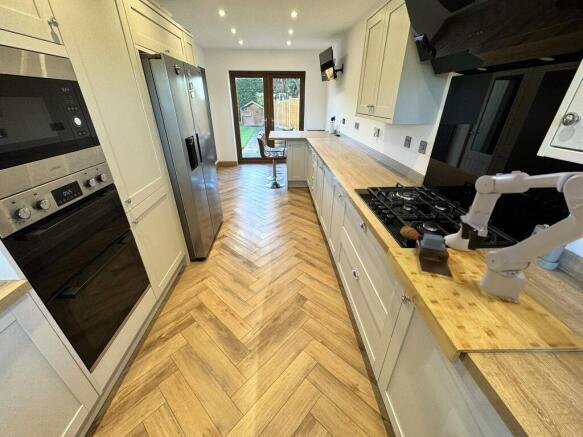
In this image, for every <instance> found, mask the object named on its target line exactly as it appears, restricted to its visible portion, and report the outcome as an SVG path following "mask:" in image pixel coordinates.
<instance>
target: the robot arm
mask: <svg viewBox="0 0 583 437" xmlns="http://www.w3.org/2000/svg"><path fill="white" fill-rule="evenodd" d="M474 186H475V190H476V194H475V197H474V199H473V202H472V205H471V206H472V207H471V206H470V207H471V210H470V212H469V211H468V212H469V213H468V212H467V213H466V214H465V216H466V217H465V218H466V219H460V224H461V225H462V234H461V238H462V239H467V240H468V239H469V242H468V249H469V250H471V251H476V250H477V249H478V247H479V246H480V245H481V244H482V243H483V242H485V241H486V240H488V239H490V235H489V234H488V232H489V231H488V223H489V220H490V217H491V216H492V213H493V211H494V208H495V206H496V203H497V201H498V199H499V198H500V197H501V196H502V194H518V193H519V194H520V193H525V192H528V190H529V189H530V188H556V190H557V192H559V193H563V196H564V199H565V202H566V205H567V208H568V212H569V214H570V216H568V217H566V218H564V219H562V220H560V221H558V222H556V223H554V224H552V225H551V226H548V227H546V228H544V229H543V230H541V231H539V232H537V233H535V234H533V235H532V236H529V237H528V238H525V239H523V240H522V241H520V242H518V243H516V244H514V245H511V246H507V247H503V248H500V249H498V250H490V251H488V252H487V253H486V254H485V255H484V263H485V266H486V269H485V271H484V272H483V275H482V278H481V279H480V282H479V287H480V288H481V289H482V290H483V291H484V292H486V293H488V294H489V295H492V296H495V297H500V298H510V299H512V300H513V302H514V303H515V304H518V303H519V301H518V299H519V298H520V296H521V294H522V293H523V291H524V289H525V286H526V285H527V278H526V275H525V274H524V273H523V272H522V271H525V270H527V269H529V268H530V267H531V265H532V264H533V263H536V262H537V261H538V259H537V258H539V257H541V256H544V255H547V254H548V253H550V252H553V251H556V250H557V249H560V248H562V247H566V246H567V245H569V244H571V243H574V242H577V241H579V240H581V239H583V171H572V172H570V171H566V172H565V171H563V172H555V173H547V174H539V175H538V174H537V175H529V174H528V173H527V172H521V170H513V171H511V173H500V172H499V173H496V174H495V175H481V176H479V177H478V178H477V179H476V181H475V185H474Z"/></svg>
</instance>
